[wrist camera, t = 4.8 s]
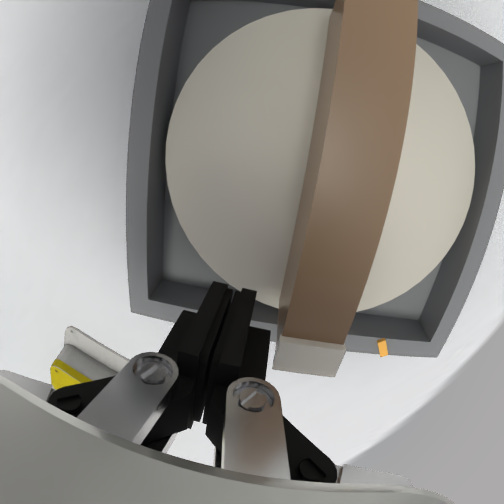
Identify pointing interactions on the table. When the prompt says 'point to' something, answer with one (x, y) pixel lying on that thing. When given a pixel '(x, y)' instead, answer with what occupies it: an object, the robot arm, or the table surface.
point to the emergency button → (84, 360)
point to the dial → (321, 167)
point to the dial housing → (187, 258)
